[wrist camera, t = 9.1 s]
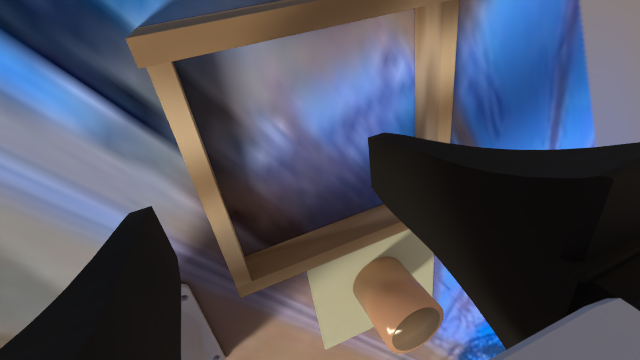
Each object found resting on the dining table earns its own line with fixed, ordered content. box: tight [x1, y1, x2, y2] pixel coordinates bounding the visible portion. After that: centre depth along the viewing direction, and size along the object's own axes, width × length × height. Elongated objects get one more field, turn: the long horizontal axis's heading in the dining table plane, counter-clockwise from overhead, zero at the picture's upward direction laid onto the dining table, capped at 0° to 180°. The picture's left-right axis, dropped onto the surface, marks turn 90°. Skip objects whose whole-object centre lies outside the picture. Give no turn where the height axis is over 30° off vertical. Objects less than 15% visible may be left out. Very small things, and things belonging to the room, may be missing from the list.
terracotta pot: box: [353, 257, 443, 353], centre depth 27 cm, size 5×5×6 cm
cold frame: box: [126, 0, 459, 298], centre depth 19 cm, size 16×16×5 cm
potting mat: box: [306, 229, 434, 350], centre depth 30 cm, size 12×12×1 cm
